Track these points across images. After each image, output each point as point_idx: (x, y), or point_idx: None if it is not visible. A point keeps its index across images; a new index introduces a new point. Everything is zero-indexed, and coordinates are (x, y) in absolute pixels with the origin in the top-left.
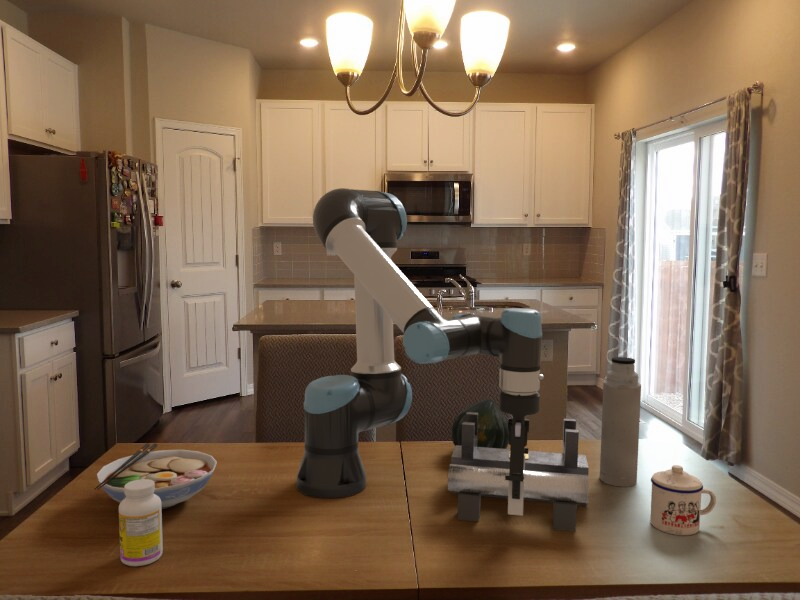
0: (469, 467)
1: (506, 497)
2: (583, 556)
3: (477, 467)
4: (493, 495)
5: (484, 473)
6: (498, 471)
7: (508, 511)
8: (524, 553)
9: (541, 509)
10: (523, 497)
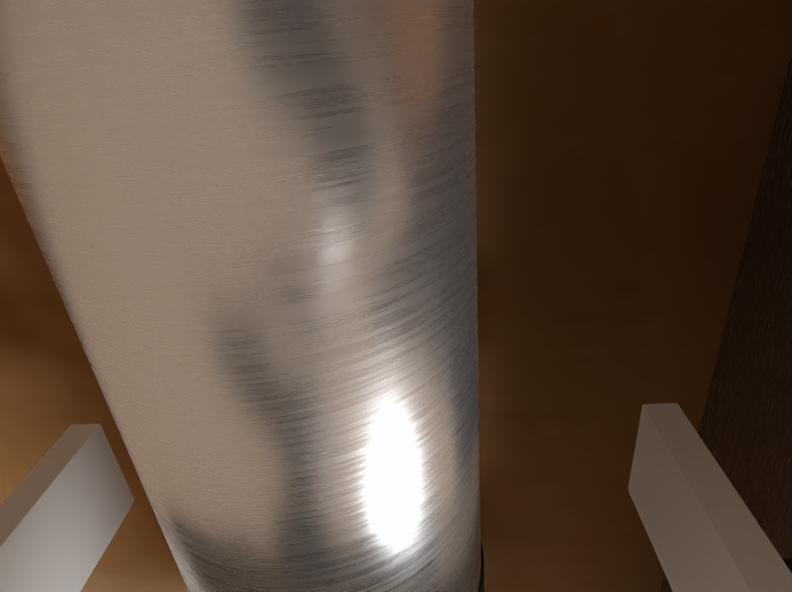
0: (78, 96)
1: (743, 279)
2: (147, 588)
3: (181, 289)
4: (770, 187)
5: (105, 397)
6: (214, 583)
7: (58, 443)
8: (29, 415)
9: (579, 463)
10: (722, 387)
